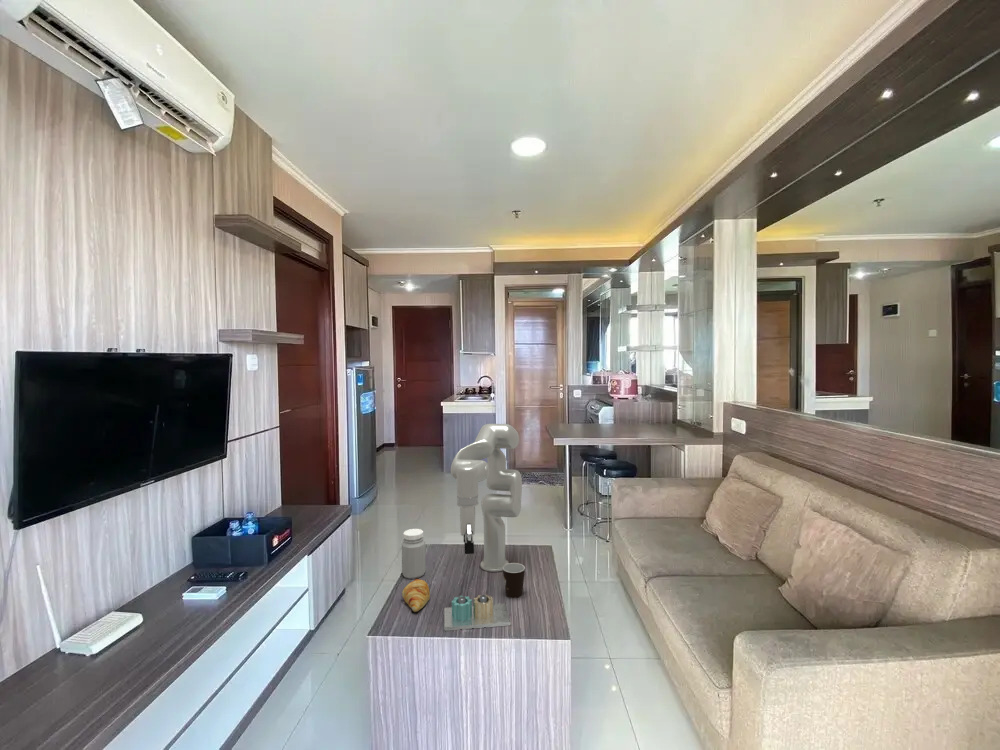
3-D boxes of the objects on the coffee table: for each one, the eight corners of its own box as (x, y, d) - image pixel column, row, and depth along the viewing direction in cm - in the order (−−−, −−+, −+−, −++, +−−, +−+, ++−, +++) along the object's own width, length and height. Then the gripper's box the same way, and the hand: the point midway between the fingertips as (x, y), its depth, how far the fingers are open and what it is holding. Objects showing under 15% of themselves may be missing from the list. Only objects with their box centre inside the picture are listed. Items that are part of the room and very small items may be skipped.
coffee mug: (523, 600, 159) (523, 573, 159) (500, 598, 160) (500, 571, 160) (527, 585, 170) (527, 560, 170) (506, 583, 172) (506, 559, 172)
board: (444, 611, 152) (444, 590, 152) (505, 606, 155) (505, 586, 155) (444, 630, 140) (444, 608, 140) (510, 625, 143) (510, 603, 143)
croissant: (424, 623, 151) (435, 602, 151) (398, 613, 149) (409, 592, 149) (423, 592, 171) (432, 574, 172) (400, 583, 169) (409, 565, 170)
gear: (451, 610, 150) (451, 596, 150) (471, 609, 151) (471, 594, 151) (452, 621, 143) (451, 606, 143) (472, 619, 144) (472, 605, 144)
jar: (416, 567, 188) (416, 526, 188) (430, 574, 181) (429, 531, 181) (397, 574, 181) (397, 532, 181) (410, 582, 174) (410, 537, 174)
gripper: (456, 493, 160) (457, 538, 160) (457, 508, 142) (458, 559, 143) (476, 492, 161) (477, 537, 161) (480, 507, 143) (481, 557, 144)
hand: (468, 547), depth 152 cm, fingers open, 9 cm apart
